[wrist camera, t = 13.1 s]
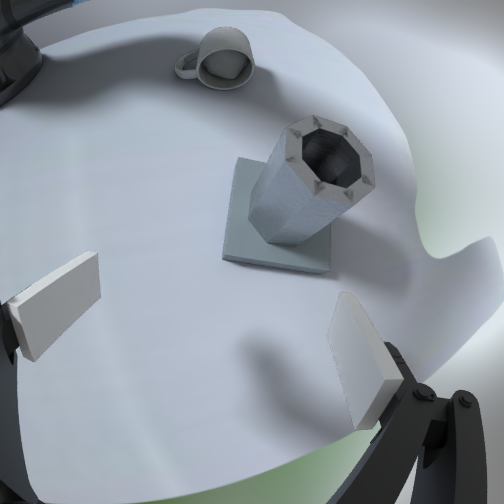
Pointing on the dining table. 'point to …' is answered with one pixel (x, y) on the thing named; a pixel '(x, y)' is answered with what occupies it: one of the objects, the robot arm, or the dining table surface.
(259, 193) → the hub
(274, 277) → the dining table surface
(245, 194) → the peg block
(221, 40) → the ceramic mug
